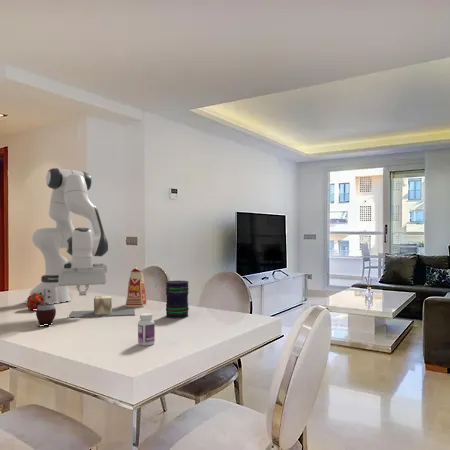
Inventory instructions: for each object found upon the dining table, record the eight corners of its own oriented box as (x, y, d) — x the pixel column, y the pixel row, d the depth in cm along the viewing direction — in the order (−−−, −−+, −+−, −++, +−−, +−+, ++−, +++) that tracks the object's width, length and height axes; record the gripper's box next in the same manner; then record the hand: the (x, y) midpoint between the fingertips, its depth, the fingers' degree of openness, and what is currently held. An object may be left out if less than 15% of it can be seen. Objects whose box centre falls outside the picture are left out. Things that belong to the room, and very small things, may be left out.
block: (93, 298, 185) (111, 298, 187) (95, 296, 192) (111, 295, 194) (93, 314, 185) (110, 313, 187) (95, 311, 192) (111, 311, 194)
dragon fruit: (35, 310, 205) (40, 318, 195) (20, 302, 201) (24, 309, 191) (47, 296, 207) (52, 303, 197) (32, 287, 203) (36, 293, 193)
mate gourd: (48, 323, 170) (48, 285, 170) (60, 325, 166) (61, 286, 166) (31, 326, 163) (31, 287, 164) (44, 328, 159) (44, 289, 160)
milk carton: (143, 307, 207) (143, 266, 207) (124, 307, 207) (124, 266, 207) (147, 304, 216) (147, 264, 216) (129, 303, 216) (129, 264, 216)
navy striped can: (184, 318, 178) (184, 283, 178) (162, 317, 180) (162, 282, 180) (191, 314, 188) (191, 280, 188) (170, 313, 190) (170, 280, 190)
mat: (67, 318, 179) (67, 317, 179) (71, 312, 193) (71, 311, 193) (134, 315, 186) (134, 314, 186) (134, 309, 199) (134, 308, 199)
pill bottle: (155, 341, 140) (155, 312, 141) (153, 345, 135) (153, 315, 135) (139, 341, 140) (139, 312, 140) (136, 346, 135) (136, 315, 135)
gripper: (107, 263, 193) (107, 293, 193) (59, 264, 189) (59, 295, 188) (106, 263, 187) (106, 295, 187) (57, 265, 182) (57, 297, 182)
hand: (82, 295), depth 187 cm, fingers closed
